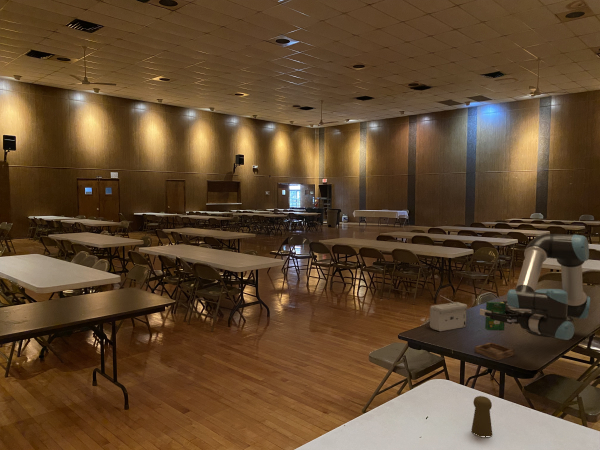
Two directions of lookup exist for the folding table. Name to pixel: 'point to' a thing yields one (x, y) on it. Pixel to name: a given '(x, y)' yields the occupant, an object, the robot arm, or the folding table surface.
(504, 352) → the tray
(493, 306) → the coffee box
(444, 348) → the folding table surface
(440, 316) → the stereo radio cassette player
